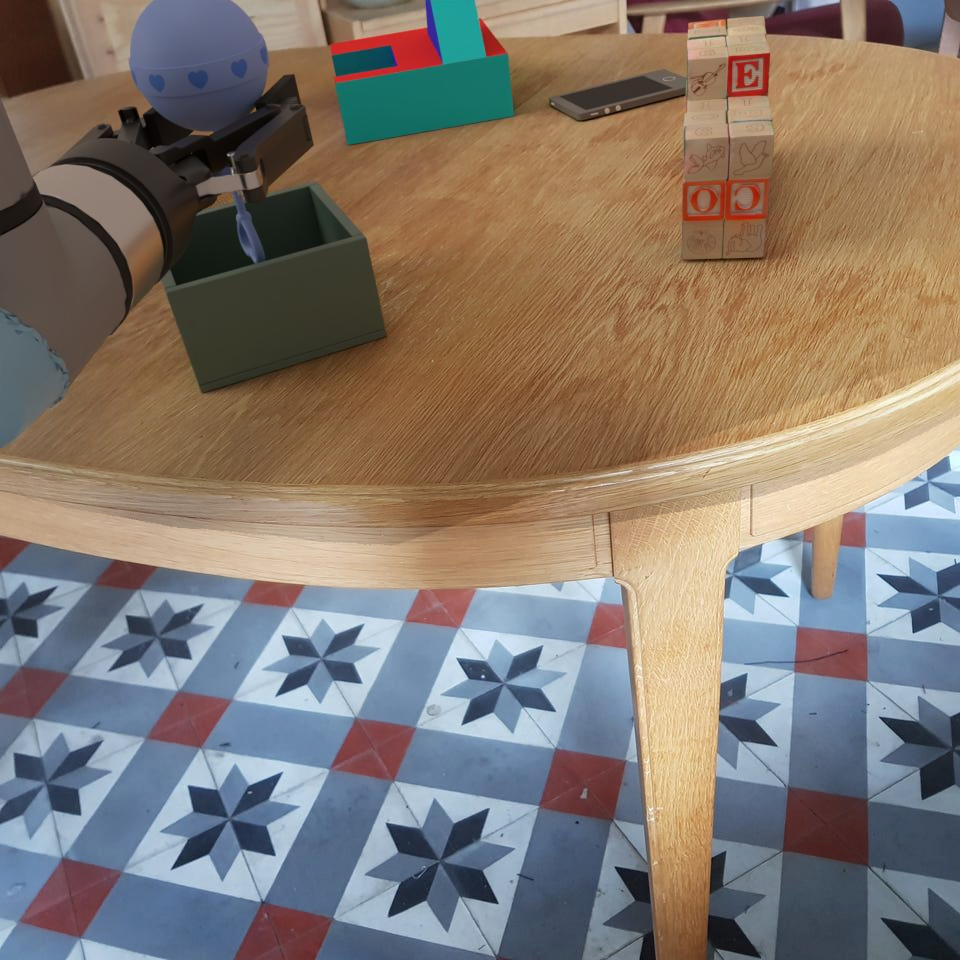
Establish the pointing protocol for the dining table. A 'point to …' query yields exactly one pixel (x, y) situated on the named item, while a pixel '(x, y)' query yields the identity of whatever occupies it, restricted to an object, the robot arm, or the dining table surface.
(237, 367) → the toy bin
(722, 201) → the stack of blocks
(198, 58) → the baby rattle
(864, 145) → the dining table surface
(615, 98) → the smartphone
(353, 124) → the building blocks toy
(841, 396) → the dining table surface
